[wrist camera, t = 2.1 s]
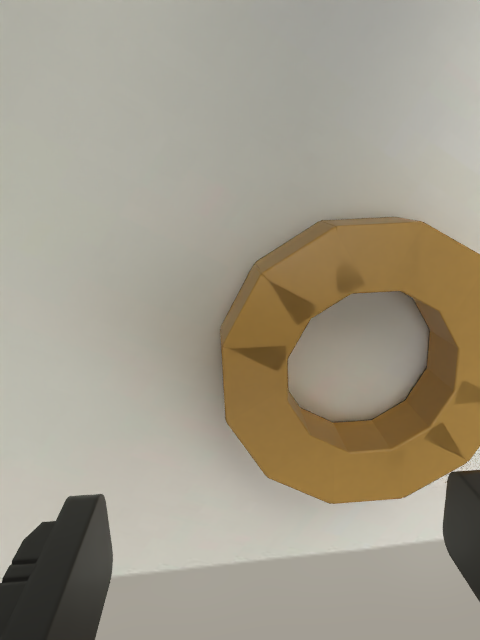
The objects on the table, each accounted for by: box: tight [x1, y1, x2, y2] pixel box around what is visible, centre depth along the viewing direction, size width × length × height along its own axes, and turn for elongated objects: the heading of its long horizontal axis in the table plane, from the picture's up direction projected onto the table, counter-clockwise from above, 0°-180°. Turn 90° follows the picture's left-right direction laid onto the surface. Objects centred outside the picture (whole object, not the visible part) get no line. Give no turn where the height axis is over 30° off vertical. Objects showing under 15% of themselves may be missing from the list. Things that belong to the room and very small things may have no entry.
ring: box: [220, 217, 480, 504], centre depth 18 cm, size 11×11×2 cm
